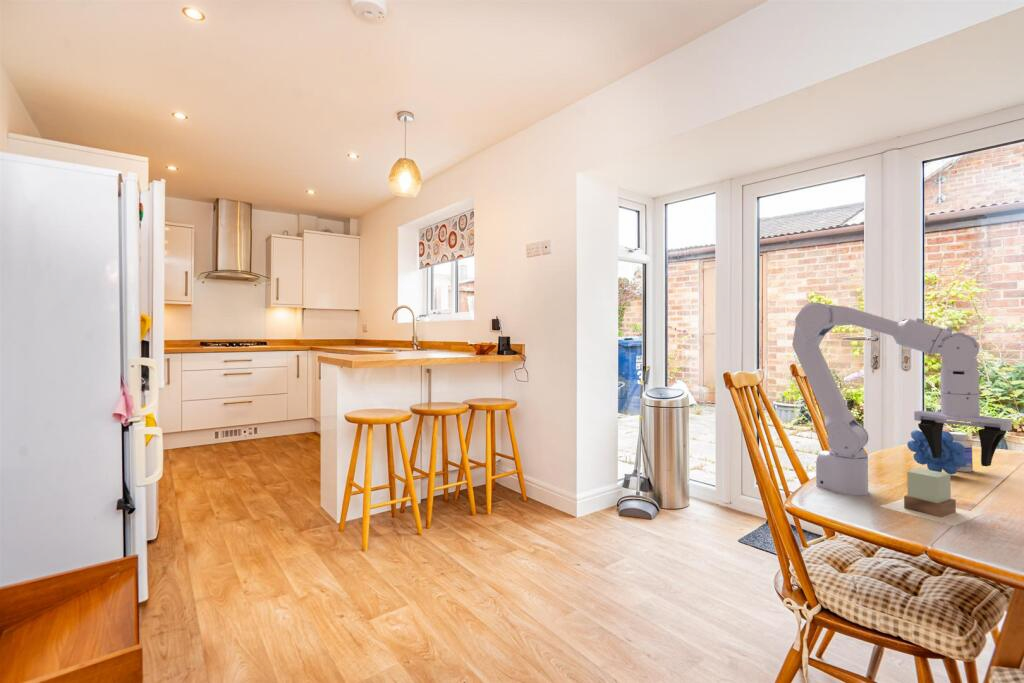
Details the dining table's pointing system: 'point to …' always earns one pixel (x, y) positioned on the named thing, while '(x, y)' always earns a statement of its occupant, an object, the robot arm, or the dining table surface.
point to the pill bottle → (967, 454)
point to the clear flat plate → (950, 519)
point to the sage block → (929, 485)
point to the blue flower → (949, 453)
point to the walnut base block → (930, 506)
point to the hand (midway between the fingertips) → (960, 461)
